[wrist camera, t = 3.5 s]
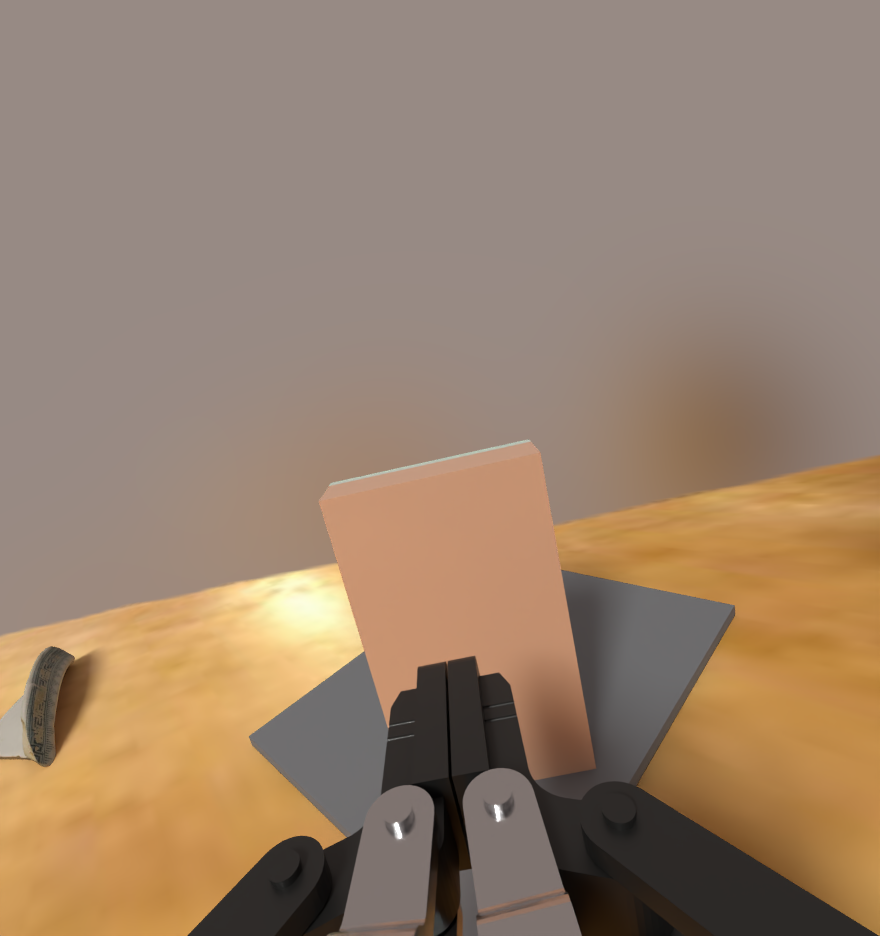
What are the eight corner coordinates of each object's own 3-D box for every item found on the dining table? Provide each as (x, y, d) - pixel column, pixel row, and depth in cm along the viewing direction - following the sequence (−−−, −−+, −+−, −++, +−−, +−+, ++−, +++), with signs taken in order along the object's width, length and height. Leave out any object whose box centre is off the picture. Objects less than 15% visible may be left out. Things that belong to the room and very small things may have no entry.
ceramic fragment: (55, 769, 30) (28, 716, 30) (-54, 822, 28) (-88, 767, 27) (85, 665, 43) (66, 625, 42) (10, 697, 40) (-11, 655, 40)
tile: (412, 761, 24) (330, 483, 20) (581, 728, 24) (528, 439, 20) (410, 803, 22) (318, 501, 18) (596, 768, 21) (540, 452, 18)
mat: (495, 562, 42) (493, 556, 42) (735, 614, 30) (734, 605, 29) (252, 745, 28) (248, 736, 28) (512, 998, 15) (509, 985, 15)
